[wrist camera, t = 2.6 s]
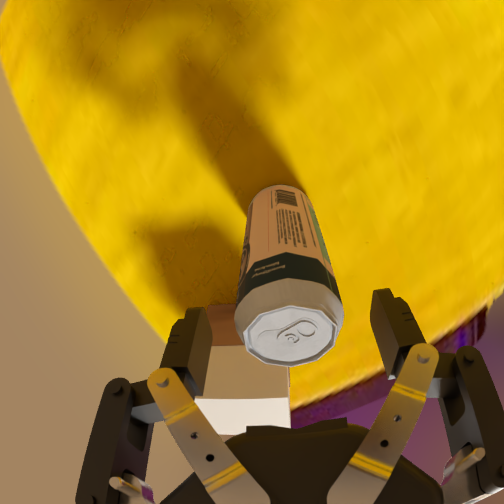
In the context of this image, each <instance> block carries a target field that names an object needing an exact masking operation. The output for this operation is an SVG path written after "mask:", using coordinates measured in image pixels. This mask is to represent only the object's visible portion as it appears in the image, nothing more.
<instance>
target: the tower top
mask: <svg viewBox="0 0 504 504" xmlns="http://www.w3.org/2000/svg"><path fill="white" fill-rule="evenodd" d="M194 402H195V403H196V404H197V406H198V407H199V409H200V410H201V411H202V413H203V414H204V416H205V417H206V419H207V420H208V421H209V423H210V424H211V425H212V427H213V428H214V430H215V431H216V432H217V434H230V435H231V434H232V435H238V434H241V433H244V432H246V426H261V425H273V426H279V427H286V428H290V397H289V378H288V367H286V366H278V365H271V364H265V363H263V362H262V361H260V360H259V359H257V358H256V357H255V356H253V355H252V354H250V353H249V352H247V350H246V347H245V345H237V346H211V352H210V358H209V363H208V369H207V375H206V381H205V387H204V393H203V396H195V401H194Z"/></svg>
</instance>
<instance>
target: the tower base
mask: <svg viewBox="0 0 504 504" xmlns="http://www.w3.org/2000/svg"><path fill="white" fill-rule="evenodd" d="M235 309H236V304H222V305H209V306H208V310H207V317H208V320H209V323H210V326H211V329H212V335H213V340H212V346H237V345H244V343H243V342H242V340H241V338H240V337H239V335H238V333H237V331H236V327H235V321H234V317H235ZM288 378H289V387H290V373H289V367H288Z"/></svg>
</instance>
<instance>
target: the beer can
mask: <svg viewBox="0 0 504 504" xmlns="http://www.w3.org/2000/svg"><path fill="white" fill-rule="evenodd" d="M343 318H344V311H343V305H342V301H341V298H340V294H339V290H338V287H337V283H336V280H335V276H334V273H333V269H332V266H331V263H330V259H329V256H328V253H327V249H326V246H325V243H324V240H323V237H322V233H321V230H320V227H319V224H318V221H317V218H316V215H315V212H314V209H313V206H312V203H311V202H310V200H309V199H308V197H307V196H306V195H305V194H304V193H303V192H302V191H301V190H299V189H297V188H295V187H293V186H288V185H274V186H270V187H267V188H265V189H263V190H262V191H260V192H259V193H258V194H257V195H256V196H255V197H254V198H253V200H252V201H251V203H250V206H249V208H248V214H247V222H246V230H245V237H244V245H243V253H242V261H241V269H240V277H239V284H238V292H237V300H236V309H235V317H234V321H235V327H236V331H237V333H238V335H239V337H240V338H241V340H242V342H243V343H244V345H245V347H246V350H247V352H249V353H250V354H252V355H253V356H255V357H256V358H257V359H259V360H260V361H262V362H263V363H265V364H271V365H278V366H286V367H294V366H298V365H302V364H306V363H310V362H313V361H317V360H318V359H319V358H321V357H322V356H323V355H324V354H325V353H327V352H328V351H329V350H330V349H331V348H332V347H334V346H335V341H336V338H337V336H338V334H339V331H340V329H341V327H342V323H343Z"/></svg>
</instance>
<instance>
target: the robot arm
mask: <svg viewBox="0 0 504 504" xmlns="http://www.w3.org/2000/svg"><path fill="white" fill-rule="evenodd" d="M370 323H371V327H372V330H373V333H374V336H375V339H376V342H377V345H378V348H379V351H380V354H381V357H382V361H383V364H384V367H385V370H386V374H387V377H388V380H389V379H394V378H396V382H395V384H394V385H393V387H392V389H391V391H390V393H389V395H388V397H387V399H386V401H385V403H384V405H383V407H382V409H381V410H380V413H379V414H378V416H377V418H376V420H375V421H374V423H373V425H372V426H371V428H370V430H369V429H367V428H365V427H363V426H359V425H356V424H350V423H347V418H346V417H345V418H339V419H331V420H323V421H320V422H317V423H314V424H311V425H308V426H305V427H302V428H298V429H293V428H286V427H279V426H273V425H261V426H246V432H244V433H241V434H238V435H236V436H233V437H232V438H230V439H228V440H227V441H226V442H223V440H222V439H221V438H220V436H219V435H218V434H217V432H216V431H215V430H214V428H213V427H212V425H211V424H210V423H209V421H208V420H207V419H206V417H205V416H204V414H203V413H202V411H201V410H200V409H199V407H198V406H197V404H196V403H195V402H194V401H195V396H203V393H204V387H205V381H206V375H207V369H208V363H209V358H210V352H211V346H212V340H213V335H212V329H211V326H210V323H209V320H208V317H207V314H206V311H205V309H204V307H196V308H188V309H187V311H186V314H185V318H184V319H178V320H177V322H176V323H175V324H174V325H173V326H172V329H171V332H170V337H169V338H168V344H167V345H166V348H165V351H164V354H163V358H162V361H161V365H160V367H159V369H157V370H155V371H154V372H152V373H151V374H150V376H149V377H148V379H147V380H144V381H140V382H136V383H131V384H130V383H129V381H128V380H126V379H125V378H115V379H113V380H112V381H110V382H109V383H108V384H107V385H106V387H105V389H104V392H103V395H102V399H101V401H100V405H99V408H98V411H97V414H96V418H95V421H94V425H93V428H92V432H91V435H90V439H89V442H88V446H87V450H86V454H85V458H84V462H83V466H82V470H81V474H80V479H79V483H78V488H77V493H76V498H75V502H76V504H155V502H154V499H153V491H152V489H151V487H150V486H149V485H148V484H147V483H145V477H146V470H147V463H148V456H149V450H150V445H151V439H152V433H153V427H154V422H159V421H163V420H164V422H165V424H166V426H167V427H168V429H169V431H170V433H171V434H172V436H173V438H174V439H175V441H176V443H177V445H178V446H179V448H180V449H181V451H182V453H183V454H184V456H185V457H186V459H187V461H188V462H189V464H190V465H191V467H192V468H193V470H194V472H193V473H192V474H191V475H190V476H189V477H188V478H187V479H186V480H185V481H184V482H183V483H181V485H179V486H178V487H177V488H176V489H175V490H174V491H173V492H171V493H170V494H169V495H168V496H167V497H166V498H165V499H164V500H162V501H161V503H160V504H473V503H475V502H477V501H480V500H482V499H484V498H486V497H488V496H490V495H492V494H494V493H496V492H498V491H500V490H502V489H504V411H503V408H502V405H501V402H500V399H499V397H498V394H497V391H496V389H495V386H494V383H493V381H492V378H491V376H490V374H489V371H488V369H487V367H486V364H485V362H484V360H483V357H482V355H481V353H480V352H479V351H478V350H477V349H476V348H474V347H472V346H462V347H460V348H459V349H458V350H457V352H456V354H453V353H440V352H437V350H436V349H435V348H434V347H433V346H432V345H429V344H427V343H426V341H425V339H424V337H423V334H422V332H421V330H420V328H419V326H418V324H417V322H416V320H415V318H414V316H413V314H412V312H411V310H410V308H409V306H408V304H407V303H406V302H405V301H404V300H403V299H402V298H401V297H397V298H394V296H393V294H392V292H391V290H390V289H389V288H385V289H378V290H374V291H373V296H372V303H371V310H370ZM426 397H432V398H438V401H439V405H440V408H441V412H442V416H443V420H444V424H445V428H446V432H447V437H448V441H449V446H450V451H451V456H452V458H450V459H449V460H448V462H447V463H446V465H445V468H444V478H443V481H442V483H441V485H439V484H438V483H437V481H436V480H434V479H433V478H432V477H430V476H429V475H428V474H426V473H425V472H424V471H422V470H421V469H419V468H418V467H417V466H416V465H414V464H413V463H412V462H410V461H409V460H407V459H406V458H405V457H404V456H403V455H401V453H402V451H403V450H404V448H405V446H406V444H407V441H408V439H409V437H410V435H411V433H412V431H413V429H414V427H415V424H416V422H417V420H418V417H419V415H420V413H421V410H422V408H423V405H424V403H425V400H426Z"/></svg>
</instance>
